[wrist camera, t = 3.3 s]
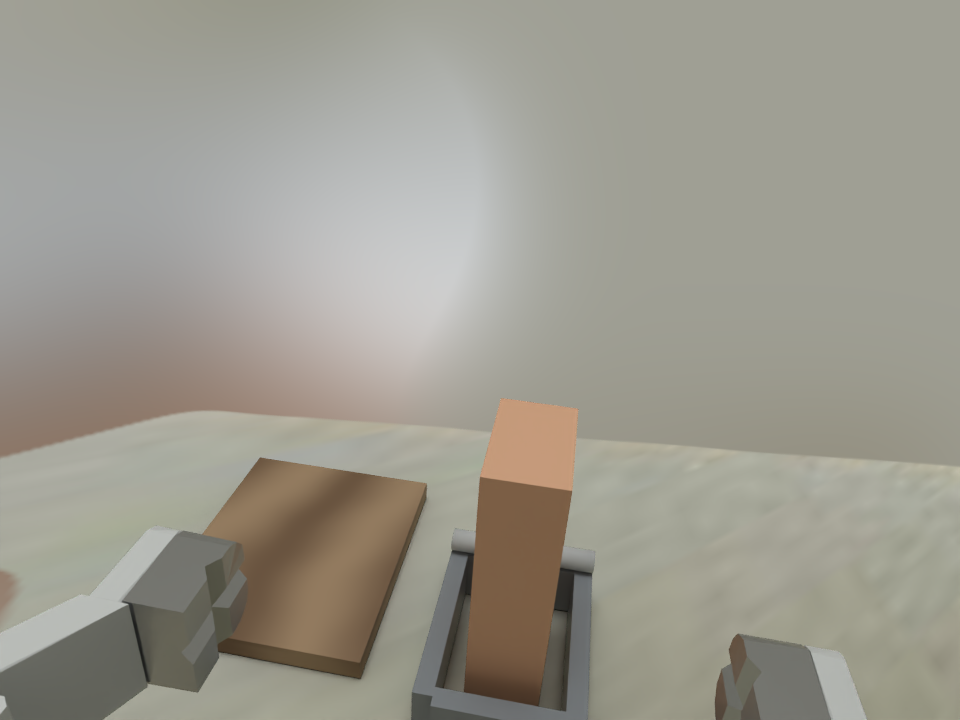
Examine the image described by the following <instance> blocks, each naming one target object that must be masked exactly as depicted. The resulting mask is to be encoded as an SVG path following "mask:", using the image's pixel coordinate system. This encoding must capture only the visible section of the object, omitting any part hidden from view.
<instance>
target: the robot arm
mask: <svg viewBox="0 0 960 720" xmlns="http://www.w3.org/2000/svg"><path fill="white" fill-rule="evenodd" d="M244 560H245V557H244V551H243V545H242V544H240V543H238V542H235V541H230V540H225V539H220V538H216V537H211V536H206V535H202V534H197V533H192V532H187V531H181V530H176V529H171V528H166V527H161V526H157V525H156V526H154V527H152V528H150V529H148V530H147V531H146V532H145V533H144V534H143V535H142V536H141V537H140V538H139V540H138V541H137V542H136V543H135V544H134V545H133V546H132V547H131V549H130V550H129V551H128V552H127V553H126V554H125V555H124V557H123V558H122V559H121V560H120V561H119V562H118V563H117V564H116V566H115V567H114V568H113V569H112V570H111V571H110V572H109V574H108V575H107V576H106V577H105V578H104V579H103V580H102V581H101V583H100V584H99V585H98V586H97V587H96V588H95V589H94V591H93V592H92V593H91V594H90V595H89V596H87V595H81V594H80V595H78V596H76V597H74V598H72V599H70V600H68V601H66V602H64V603H61V604H59V605H57V606H55V607H53V608H51V609H49V610H47V611H45V612H43V613H41V614H39V615H36V616H34V617H32V618H30V619H28V620H26V621H24V622H22V623H20V624H18V625H16V626H13V627H11V628H9V629H7V630H5V631H3V632H1V633H0V720H103V719H104V718H106V717H107V716H108V715H110V714H111V713H112V712H114V711H115V710H117V709H118V708H119V707H121V706H122V705H123V704H125V703H126V702H128V701H129V700H130V699H132V698H133V697H134V696H136V695H137V694H139V693H140V692H141V691H143V690H144V689H145V688H147V686H148V685H147V684H152V685H158V686H164V687H169V688H175V689H180V690H186V691H191V692H197V693H198V692H199V690H200V688H201V687H202V685H203V683H204V682H205V680H206V679H207V677H208V675H209V674H210V672H211V670H212V669H213V667H214V665H215V664H216V662H217V660H218V659H219V654H218V647H217V644H219V643H220V642H222V641H223V640H225V639H227V638H228V637H230V636H232V635H233V633H234V631H235V630H236V628H237V626H238V624H239V623H240V621H241V618H242V615H243V612H244V609H245V606H246V603H247V595H248V583H247V578H246V577H245V576H244V574H243V573H242V572H241V571H240V570H239V567H240V566H241V564H242V563H243V561H244ZM729 653H730V659H731V664H730V665H728V666H726V667H724V668H723V669H722V670H721V673H720V676H719V679H718V682H717V688H716V697H715V717H716V720H867V717H866V714H865V712H864V709H863V706H862V704H861V701H860V698H859V695H858V693H857V690H856V687H855V685H854V682H853V679H852V676H851V674H850V671H849V668H848V666H847V663H846V660H845V658H844V657H843V655H842V654H841V653H840V652H839V651H833V650H828V649H822V648H816V647H811V646H802V645H801V644H795V643H789V642H783V641H778V640H772V639H766V638H760V637H754V636H749V635H743V634H737V635H736V636H735V637H734V638H733V640H732V643H731V646H730V648H729Z"/></svg>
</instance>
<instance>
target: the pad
mask: <svg viewBox="0 0 960 720" xmlns="http://www.w3.org/2000/svg"><path fill="white" fill-rule="evenodd" d="M426 491H427V484H426V483H420V482H414V481H407V480H401V479H394V478H388V477H381V476H375V475H369V474H362V473H356V472H349V471H343V470H336V469H330V468H324V467H317V466H311V465H304V464H298V463H291V462H285V461H279V460H272V459H266V458H259V460H258V461H257V462H256V464H255V465H254V466H253V468H252V469H251V470H250V472H249V473H248V474H247V476H246V477H245V478H244V480H243V481H242V482H241V484H240V485H239V486H238V488H237V489H236V490H235V492H234V493H233V494H232V496H231V497H230V498H229V500H228V501H227V502H226V504H225V505H224V506H223V508H222V509H221V510H220V512H219V513H218V514H217V515H216V517H215V518H214V519H213V521H212V522H211V523H210V525H209V526H208V527H207V529H206V530H205V531H204V533H203V534H202V535H206V536H211V537H216V538H220V539H225V540H230V541H235V542H238V543H240V544H242V545H243V551H244V557H245V560H244V561H243V563H242V564H241V566H240V567H239V570H240V571H241V572H242V573H243V574H244V576H245V577H246V578H247V583H248V595H247V603H246V606H245V609H244V612H243V615H242V618H241V621H240V623H239V624H238V626H237V628H236V630H235V631H234V633H233V635H232V636H230V637H228V638H227V639H225V640H223V641H222V642H220V643H219V644H217V647H218V651H219V652H225V653H230V654H235V655H240V656H246V657H251V658H256V659H261V660H266V661H272V662H277V663H282V664H287V665H293V666H298V667H303V668H308V669H313V670H319V671H324V672H329V673H334V674H339V675H345V676H350V677H355V678H361V675H362V673H363V670H364V667H365V664H366V662H367V659H368V656H369V653H370V651H371V648H372V645H373V642H374V640H375V637H376V634H377V631H378V629H379V626H380V623H381V620H382V618H383V615H384V612H385V609H386V607H387V604H388V601H389V598H390V596H391V593H392V590H393V587H394V585H395V582H396V579H397V576H398V574H399V571H400V568H401V565H402V563H403V560H404V557H405V554H406V552H407V549H408V546H409V543H410V541H411V538H412V535H413V532H414V530H415V527H416V524H417V521H418V519H419V516H420V513H421V510H422V508H423V505H424V502H425V500H426Z"/></svg>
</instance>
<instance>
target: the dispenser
mask: <svg viewBox="0 0 960 720" xmlns="http://www.w3.org/2000/svg"><path fill="white" fill-rule="evenodd" d="M475 537H476V532H475V531H469V530H463V529H457V528H455V529H454V533H453V537H452V544H451V550H452V552H451V556H450V559H449V563H448V566H447V570H446V574H445V577H444V581H443V584H442V588H441V591H440V595H439V598H438V602H437V605H436V609H435V612H434V616H433V620H432V623H431V627H430V630H429V634H428V637H427V641H426V644H425V648H424V651H423V655H422V658H421V662H420V666H419V669H418V673H417V676H416V680H415V683H414V687H413V690H412V715H411V720H588V695H589V661H590V627H591V593H592V573H593V570H594V563H595V551H592V550H586V549H580V548H574V547H567V546H563V552H562V559H561V565H560V571H559V578H558V584H557V590H556V597H555V603H554V609H557V610H563V611H568V619H567V634H566V649H565V664H564V679H563V694H562V709H561V711H559V710H554V709H549V708H543V707H538V706H533V705H528V704H522V703H517V702H512V701H507V700H501V699H496V698H491V697H486V696H480V695H475V694H470V693H465V692H459V691H454V690H449V689H444V688H443V685H444V681H445V676H446V672H447V668H448V664H449V660H450V656H451V651H452V647H453V643H454V639H455V635H456V631H457V626H458V622H459V618H460V614H461V610H462V606H463V601H464V597H465V594H471V590H472V577H473V563H474V550H475Z"/></svg>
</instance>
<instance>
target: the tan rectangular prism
mask: <svg viewBox="0 0 960 720" xmlns="http://www.w3.org/2000/svg"><path fill="white" fill-rule="evenodd" d="M577 419H578V409H576V408H568V407H561V406H554V405H547V404H539V403H532V402H525V401H517V400H510V399H504V398H501V400H500V404H499V409H498V411H497V415H496V419H495V423H494V427H493V430H492V434H491V438H490V441H489V445H488V449H487V453H486V456H485V460H484V464H483V467H482V471H481V475H480V483H479V497H478V510H477V523H476V537H475V550H474V563H473V577H472V590H471V604H470V617H469V630H468V644H467V657H466V671H465V684H464V692H465V693H470V694H475V695H480V696H486V697H491V698H496V699H501V700H507V701H512V702H517V703H522V704H528V705H533V706H538V704H539V698H540V692H541V685H542V679H543V673H544V666H545V660H546V654H547V647H548V641H549V635H550V628H551V622H552V616H553V609H554V603H555V597H556V590H557V584H558V578H559V571H560V565H561V559H562V552H563V546H564V540H565V533H566V527H567V521H568V514H569V508H570V502H571V495H572V487H573V473H574V460H575V446H576V433H577Z"/></svg>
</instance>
